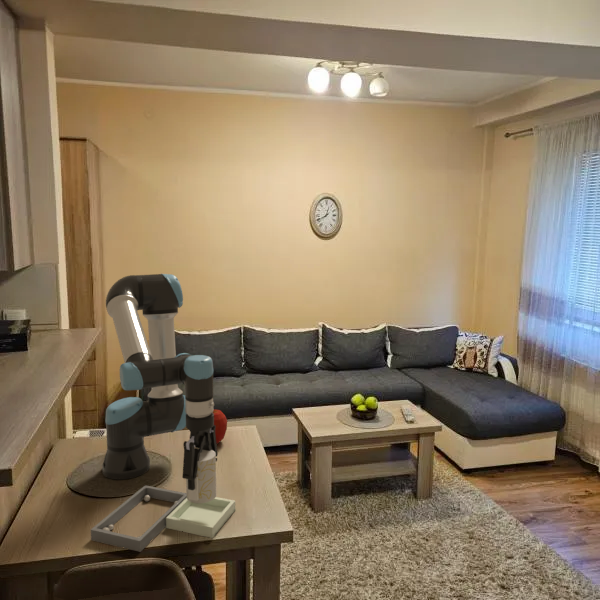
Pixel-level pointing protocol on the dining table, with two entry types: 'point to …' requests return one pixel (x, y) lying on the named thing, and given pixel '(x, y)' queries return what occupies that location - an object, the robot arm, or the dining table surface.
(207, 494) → the cup
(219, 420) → the apple
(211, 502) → the sage tray
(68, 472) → the dining table surface
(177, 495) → the gravel bin
